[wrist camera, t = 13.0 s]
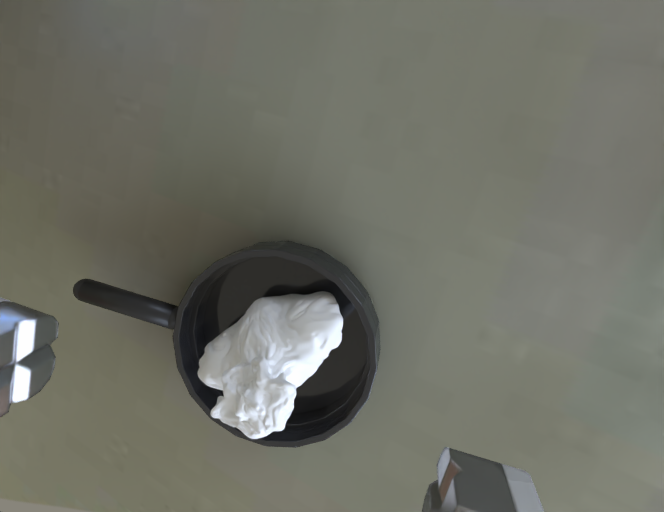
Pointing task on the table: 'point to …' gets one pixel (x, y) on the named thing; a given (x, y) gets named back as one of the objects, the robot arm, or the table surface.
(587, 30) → the table surface
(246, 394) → the bust
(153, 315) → the pan handle
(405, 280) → the table surface
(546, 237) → the table surface
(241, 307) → the pan
